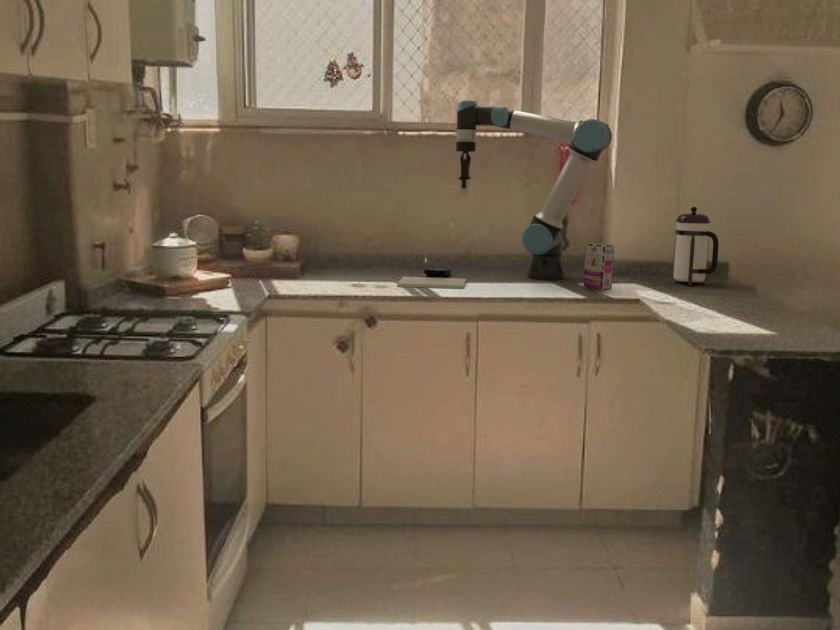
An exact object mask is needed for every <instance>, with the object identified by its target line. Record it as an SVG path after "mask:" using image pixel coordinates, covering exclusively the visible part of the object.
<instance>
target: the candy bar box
mask: <svg viewBox="0 0 840 630" xmlns="http://www.w3.org/2000/svg"><path fill="white" fill-rule="evenodd" d="M584 248H585V250H584V251H585V252H584V266H583V267H584V269H583V270H584V271H583V285H582V287H583V288H589V289H593V290H598V291H612V285H613V271H614V270H613V268H614V267H613V266H614V254H615V252H614V250H615V245H613V244H605V243H596V242H595V243H593V242H588V243H587V242H586V243H585V247H584Z"/></svg>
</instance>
